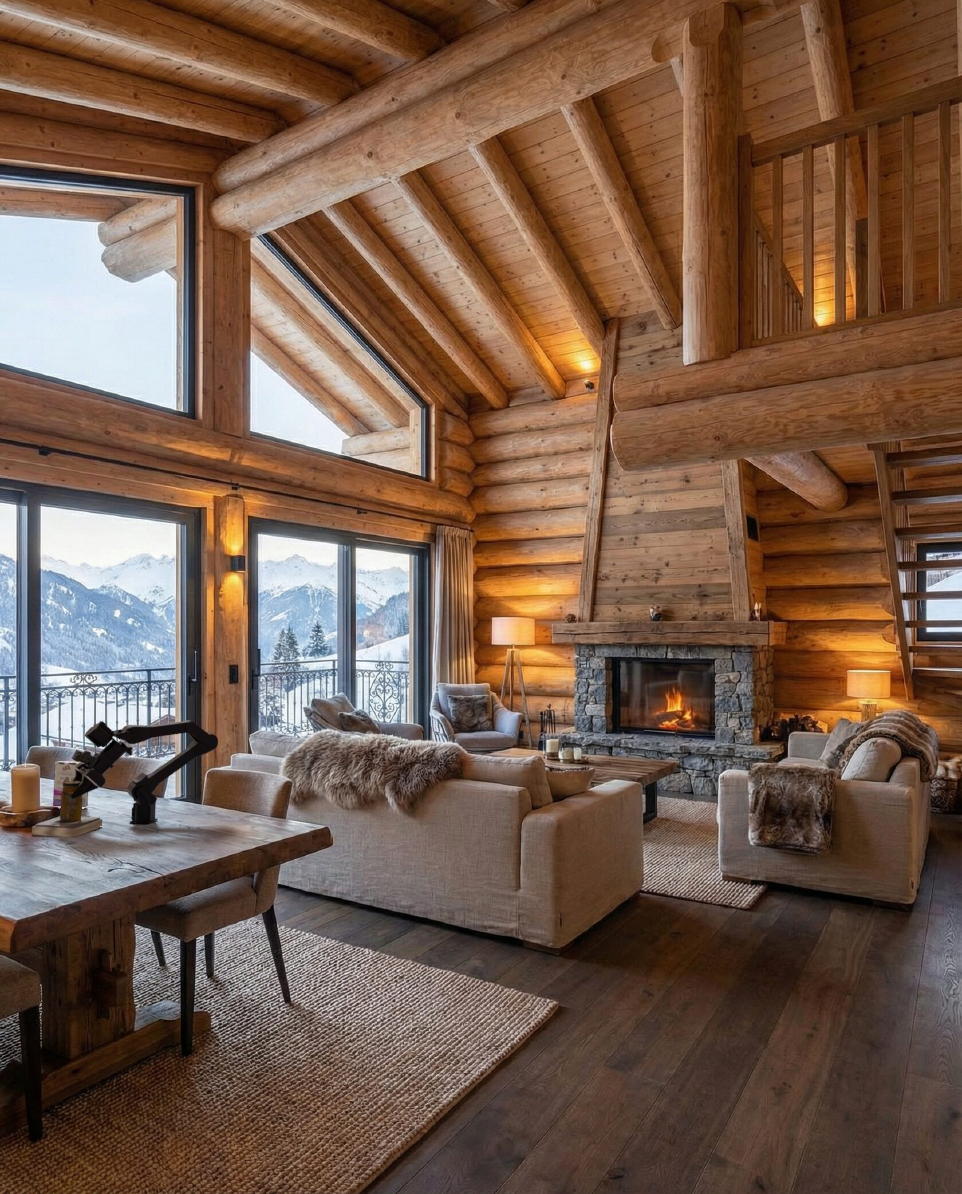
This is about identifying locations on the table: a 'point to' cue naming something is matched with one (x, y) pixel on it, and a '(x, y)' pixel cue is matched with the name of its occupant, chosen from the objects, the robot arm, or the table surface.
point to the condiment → (70, 804)
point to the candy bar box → (65, 780)
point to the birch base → (66, 827)
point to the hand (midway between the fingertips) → (69, 795)
